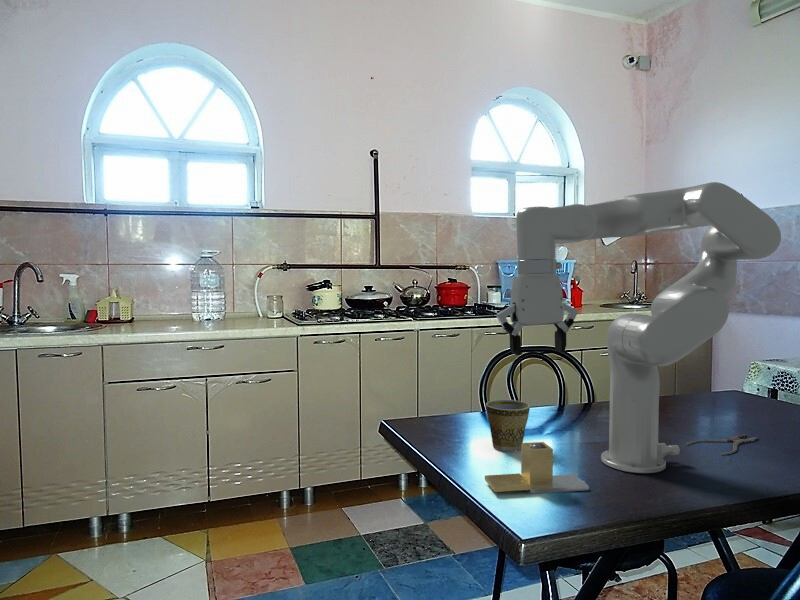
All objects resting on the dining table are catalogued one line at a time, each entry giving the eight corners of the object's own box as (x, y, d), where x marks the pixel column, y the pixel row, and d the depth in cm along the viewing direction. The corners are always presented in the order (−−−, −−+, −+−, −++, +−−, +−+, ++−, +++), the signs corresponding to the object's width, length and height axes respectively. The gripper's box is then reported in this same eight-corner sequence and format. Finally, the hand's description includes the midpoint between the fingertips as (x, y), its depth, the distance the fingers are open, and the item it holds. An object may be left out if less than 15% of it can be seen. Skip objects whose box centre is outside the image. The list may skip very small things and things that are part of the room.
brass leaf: (541, 476, 109) (541, 440, 109) (554, 488, 103) (554, 450, 103) (484, 479, 107) (484, 443, 107) (494, 491, 101) (494, 453, 101)
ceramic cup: (530, 455, 124) (531, 410, 123) (484, 453, 125) (485, 408, 125) (527, 438, 136) (528, 397, 136) (486, 436, 138) (486, 396, 138)
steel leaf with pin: (574, 478, 110) (574, 438, 110) (588, 490, 104) (589, 447, 104) (518, 481, 108) (519, 440, 108) (530, 493, 102) (530, 450, 102)
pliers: (681, 444, 129) (716, 428, 142) (681, 448, 130) (715, 431, 142) (727, 454, 122) (759, 436, 135) (727, 458, 122) (759, 440, 135)
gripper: (566, 267, 119) (567, 347, 120) (489, 270, 115) (491, 353, 116) (585, 267, 111) (586, 352, 112) (503, 270, 108) (506, 358, 109)
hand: (538, 352), depth 114 cm, fingers open, 9 cm apart
